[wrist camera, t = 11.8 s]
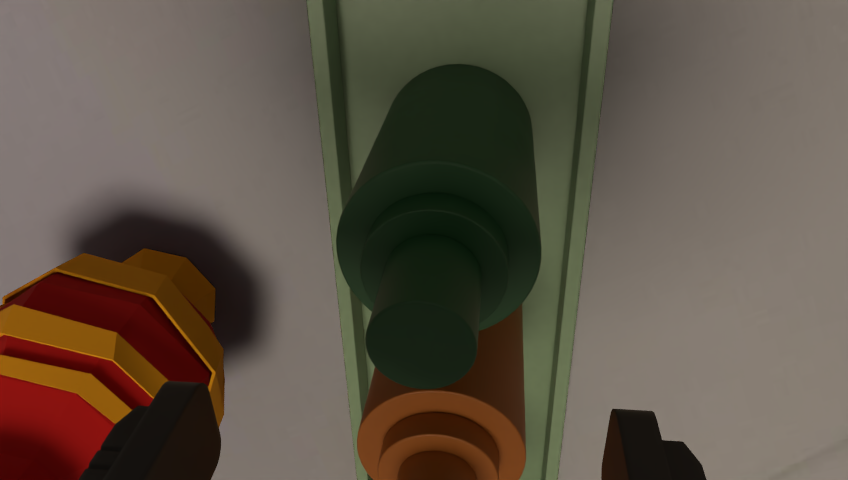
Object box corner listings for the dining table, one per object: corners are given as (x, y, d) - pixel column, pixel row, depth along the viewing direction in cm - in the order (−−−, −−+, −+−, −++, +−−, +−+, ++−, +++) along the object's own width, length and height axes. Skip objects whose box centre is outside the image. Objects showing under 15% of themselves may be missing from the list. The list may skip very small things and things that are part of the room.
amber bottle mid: (369, 296, 31) (290, 550, 20) (458, 221, 28) (424, 464, 17) (457, 369, 33) (430, 641, 21) (549, 304, 30) (572, 575, 19)
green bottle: (356, 134, 27) (247, 338, 16) (458, 30, 24) (415, 186, 13) (457, 226, 29) (424, 470, 17) (563, 138, 26) (603, 358, 15)
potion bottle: (118, 381, 36) (-95, 673, 24) (26, 216, 32) (-306, 470, 19) (298, 366, 34) (172, 676, 22) (230, 186, 29) (14, 450, 17)
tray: (313, -109, 23) (294, -104, 21) (615, -114, 22) (626, -110, 20) (367, 471, 38) (359, 507, 36) (550, 485, 37) (552, 523, 35)
